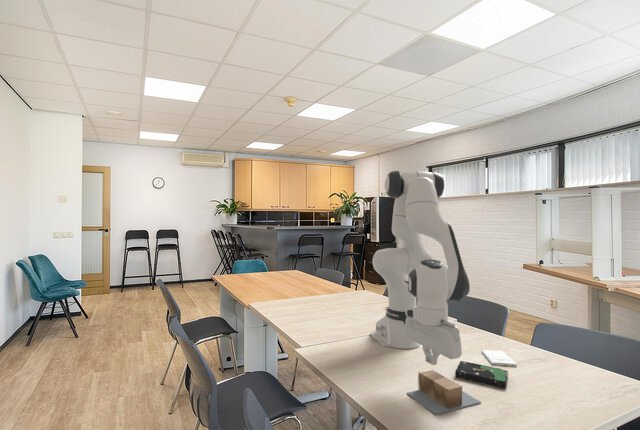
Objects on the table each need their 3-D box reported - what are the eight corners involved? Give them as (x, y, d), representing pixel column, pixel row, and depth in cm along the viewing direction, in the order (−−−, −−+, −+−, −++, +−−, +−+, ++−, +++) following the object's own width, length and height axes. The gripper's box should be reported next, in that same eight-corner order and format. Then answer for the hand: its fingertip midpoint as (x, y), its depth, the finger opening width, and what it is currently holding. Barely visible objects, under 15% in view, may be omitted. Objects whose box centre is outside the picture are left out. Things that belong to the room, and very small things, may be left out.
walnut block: (418, 372, 106) (448, 389, 95) (431, 369, 108) (462, 386, 97) (418, 388, 106) (448, 408, 95) (431, 385, 108) (462, 404, 97)
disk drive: (455, 379, 115) (506, 390, 108) (455, 371, 115) (506, 381, 108) (460, 368, 124) (508, 377, 117) (460, 360, 124) (508, 369, 117)
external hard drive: (503, 355, 137) (516, 368, 125) (481, 353, 138) (492, 366, 126) (503, 351, 137) (516, 363, 125) (481, 349, 138) (492, 362, 126)
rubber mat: (406, 393, 104) (406, 392, 104) (449, 384, 110) (449, 383, 110) (435, 415, 93) (435, 413, 93) (480, 403, 99) (480, 401, 99)
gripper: (467, 324, 97) (466, 375, 96) (417, 307, 115) (417, 350, 115) (449, 326, 94) (448, 379, 94) (401, 308, 113) (401, 352, 113)
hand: (431, 363), depth 105 cm, fingers closed
